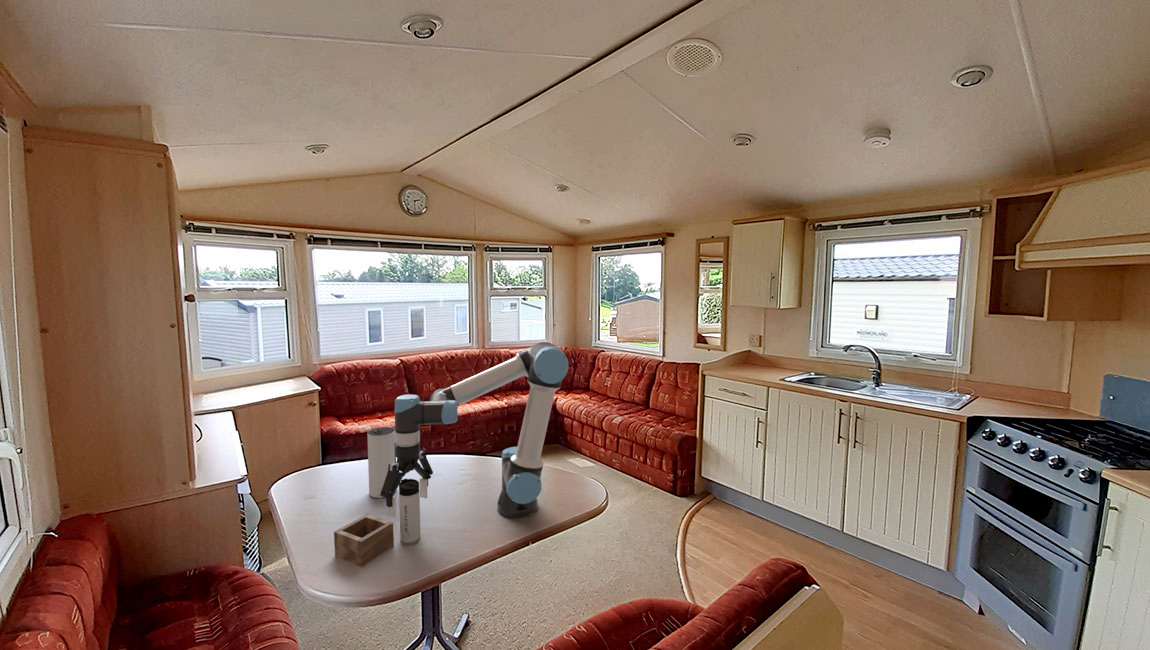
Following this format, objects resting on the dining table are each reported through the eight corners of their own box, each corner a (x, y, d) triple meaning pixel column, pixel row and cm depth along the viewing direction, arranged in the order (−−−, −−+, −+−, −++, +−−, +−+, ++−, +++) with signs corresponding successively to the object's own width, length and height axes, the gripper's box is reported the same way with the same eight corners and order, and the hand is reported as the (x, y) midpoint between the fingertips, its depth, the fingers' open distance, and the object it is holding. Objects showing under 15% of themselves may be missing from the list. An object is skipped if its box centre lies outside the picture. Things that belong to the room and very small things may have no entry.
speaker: (397, 496, 180) (395, 432, 177) (368, 500, 176) (365, 435, 173) (396, 485, 190) (395, 424, 187) (369, 489, 186) (367, 427, 183)
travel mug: (413, 532, 154) (411, 475, 152) (424, 539, 150) (422, 481, 148) (396, 540, 150) (394, 482, 148) (406, 548, 145) (405, 488, 143)
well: (393, 546, 146) (393, 522, 145) (362, 567, 135) (361, 541, 135) (367, 536, 151) (366, 514, 151) (335, 556, 141) (333, 531, 140)
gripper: (426, 430, 159) (427, 488, 161) (366, 453, 137) (368, 520, 139) (443, 433, 156) (443, 492, 158) (384, 458, 134) (386, 526, 136)
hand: (408, 506), depth 149 cm, fingers open, 13 cm apart
